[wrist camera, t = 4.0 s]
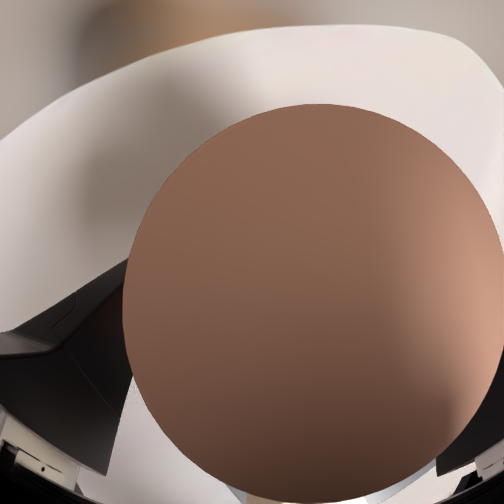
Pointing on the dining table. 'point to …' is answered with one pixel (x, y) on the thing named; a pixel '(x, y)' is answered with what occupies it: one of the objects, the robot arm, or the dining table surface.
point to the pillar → (314, 304)
